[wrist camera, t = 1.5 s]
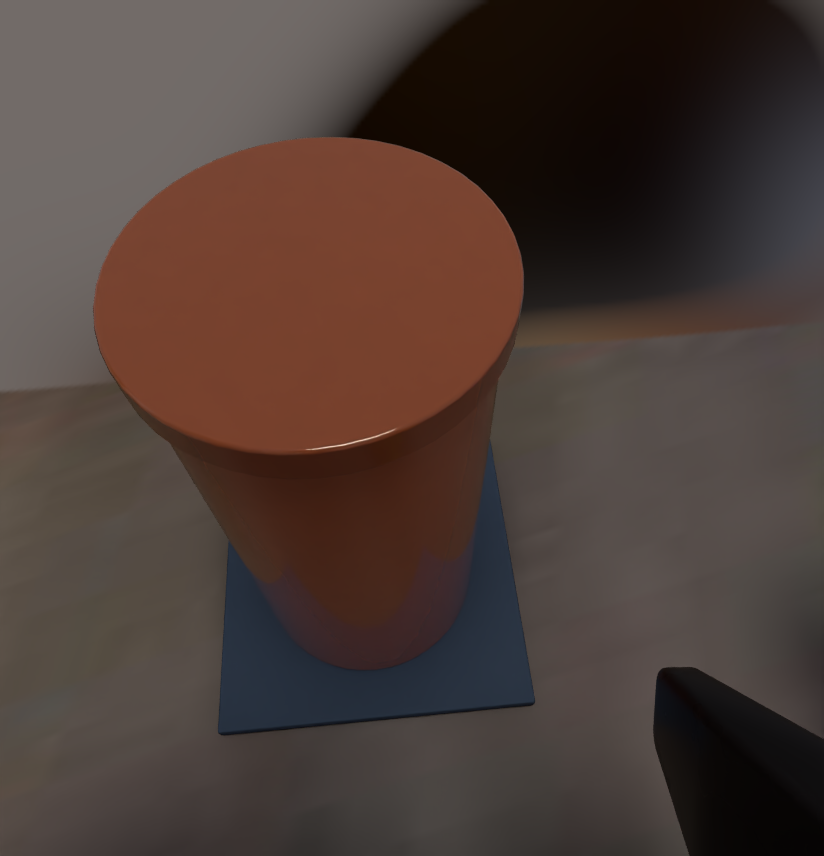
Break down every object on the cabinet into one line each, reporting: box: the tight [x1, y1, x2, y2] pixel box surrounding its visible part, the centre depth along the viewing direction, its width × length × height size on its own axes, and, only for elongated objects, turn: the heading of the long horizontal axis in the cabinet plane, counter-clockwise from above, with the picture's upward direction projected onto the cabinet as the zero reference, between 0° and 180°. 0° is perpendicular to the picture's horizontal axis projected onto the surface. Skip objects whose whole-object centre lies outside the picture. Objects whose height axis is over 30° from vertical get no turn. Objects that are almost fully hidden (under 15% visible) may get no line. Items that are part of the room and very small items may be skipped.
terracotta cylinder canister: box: [93, 137, 524, 670], centre depth 17 cm, size 7×7×13 cm
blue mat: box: [218, 442, 535, 735], centre depth 22 cm, size 9×9×1 cm
